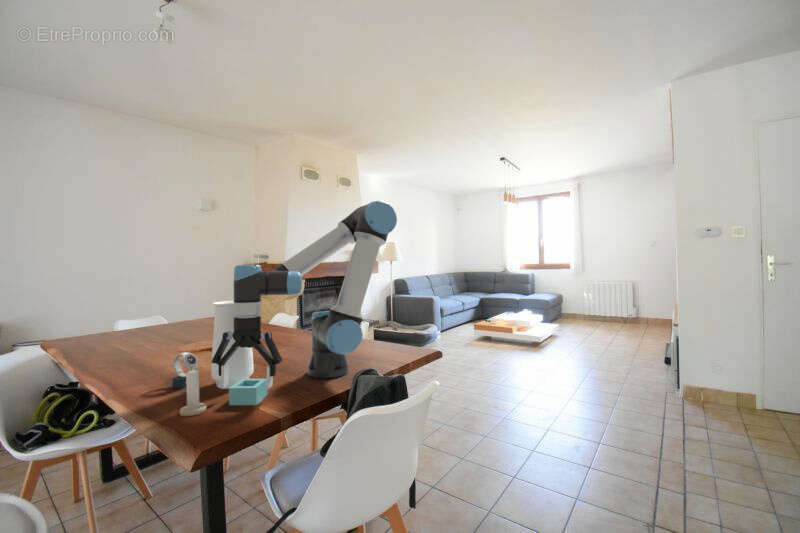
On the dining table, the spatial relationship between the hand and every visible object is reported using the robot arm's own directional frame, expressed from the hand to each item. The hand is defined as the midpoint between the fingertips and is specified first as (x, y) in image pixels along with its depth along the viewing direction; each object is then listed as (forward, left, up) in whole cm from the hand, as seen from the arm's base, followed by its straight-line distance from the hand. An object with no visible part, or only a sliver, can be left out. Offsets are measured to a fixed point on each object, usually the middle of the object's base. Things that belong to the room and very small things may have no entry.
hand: (247, 386), depth 104 cm
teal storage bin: (0, 0, -4) cm, 4 cm away
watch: (+28, -13, -4) cm, 31 cm away
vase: (+12, -14, -4) cm, 19 cm away
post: (+12, +8, -4) cm, 14 cm away
